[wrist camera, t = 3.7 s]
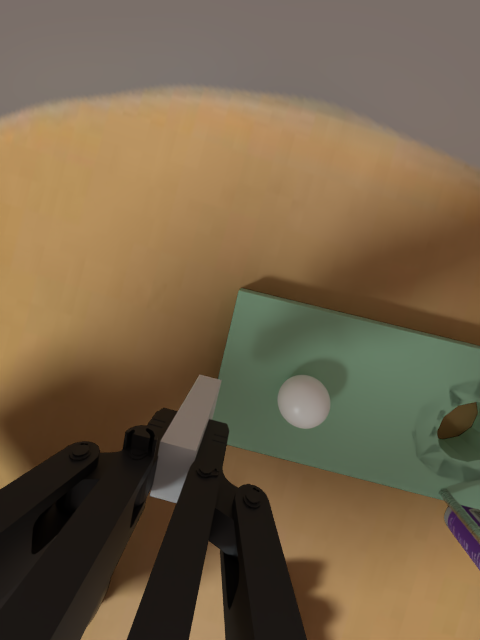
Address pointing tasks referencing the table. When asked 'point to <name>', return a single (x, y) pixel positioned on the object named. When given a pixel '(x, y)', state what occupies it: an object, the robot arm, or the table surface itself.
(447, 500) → the flag pin
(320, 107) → the table surface
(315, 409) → the ball
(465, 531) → the container
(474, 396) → the green
